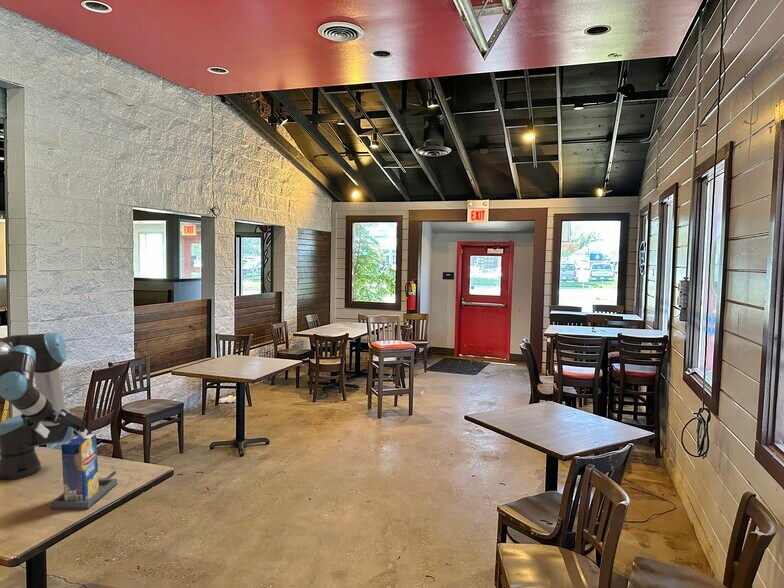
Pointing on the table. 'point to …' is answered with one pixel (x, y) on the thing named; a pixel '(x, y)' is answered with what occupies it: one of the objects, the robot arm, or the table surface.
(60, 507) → the grey tray with handle
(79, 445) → the beverage box
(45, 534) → the table surface
